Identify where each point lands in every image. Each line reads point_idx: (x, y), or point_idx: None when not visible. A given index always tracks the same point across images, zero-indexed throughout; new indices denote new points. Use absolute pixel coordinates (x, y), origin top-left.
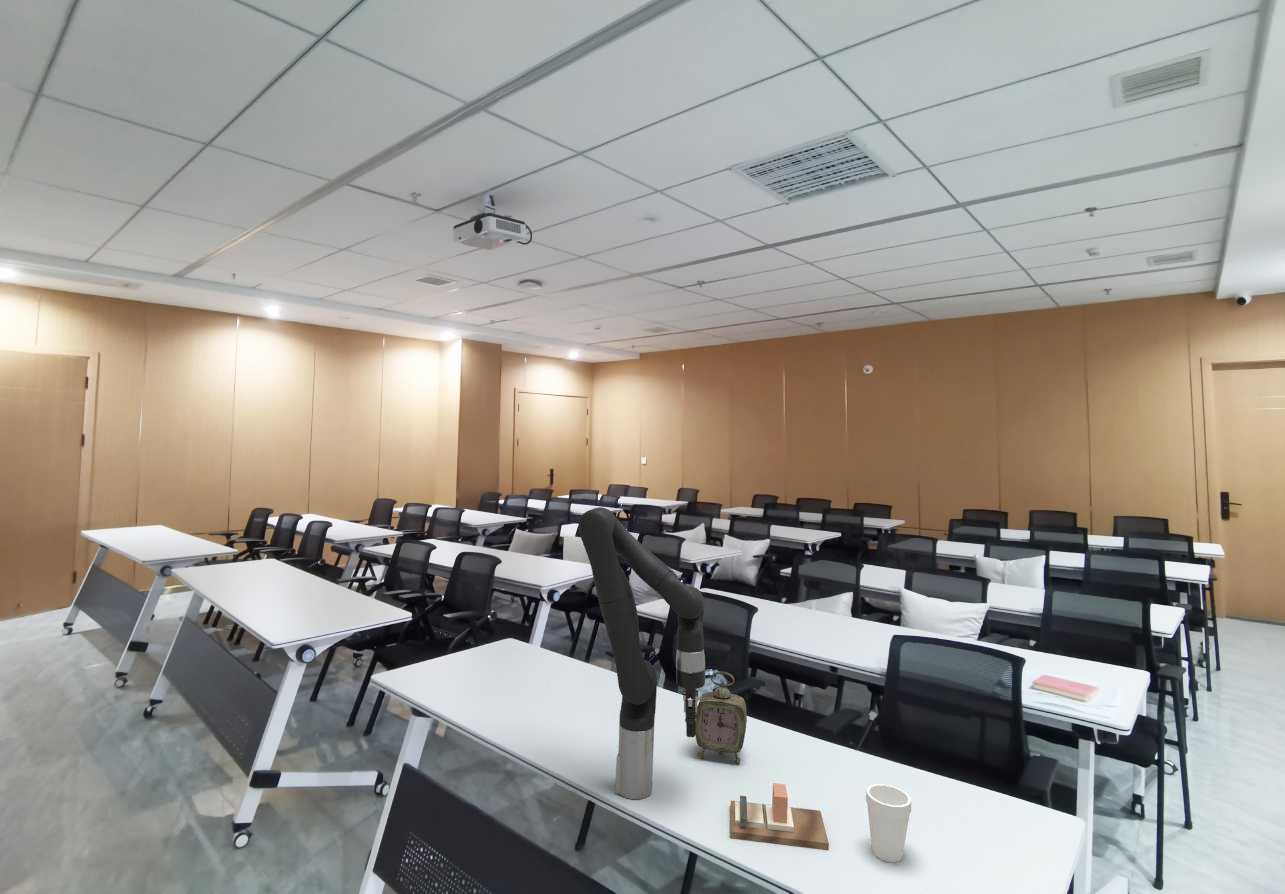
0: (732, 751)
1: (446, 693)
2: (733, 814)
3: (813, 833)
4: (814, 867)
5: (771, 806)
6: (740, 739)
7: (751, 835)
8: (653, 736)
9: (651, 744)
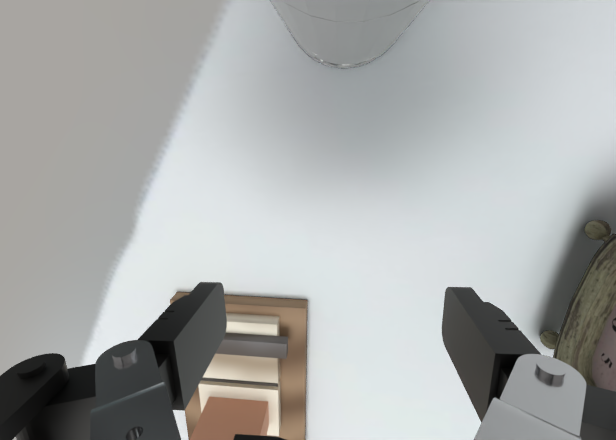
0: (558, 347)
1: None
2: (241, 310)
3: None
4: None
5: (273, 400)
6: None
7: None
8: (338, 19)
9: (307, 20)
